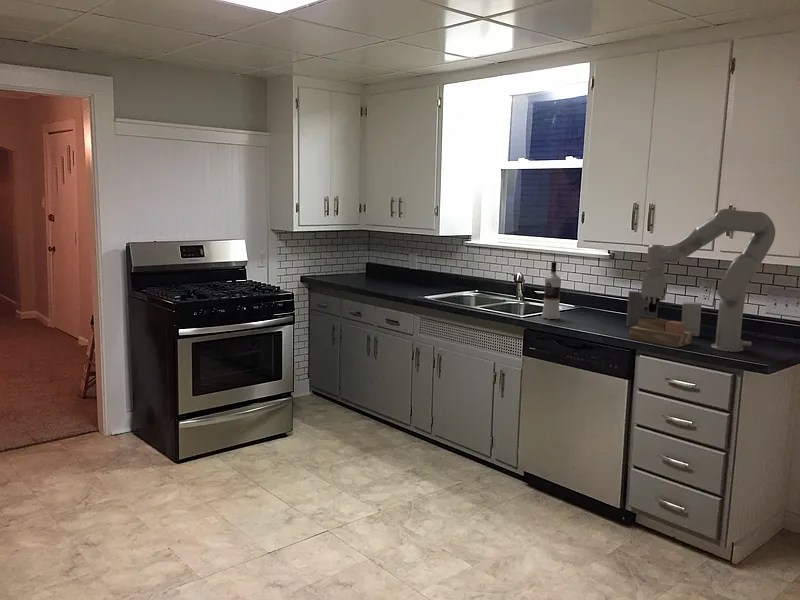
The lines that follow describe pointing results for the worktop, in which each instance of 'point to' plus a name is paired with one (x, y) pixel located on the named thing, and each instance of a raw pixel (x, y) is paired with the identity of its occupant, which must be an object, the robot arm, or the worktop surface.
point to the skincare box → (691, 317)
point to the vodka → (552, 295)
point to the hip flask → (636, 307)
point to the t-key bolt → (645, 312)
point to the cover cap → (674, 327)
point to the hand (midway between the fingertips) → (652, 311)
